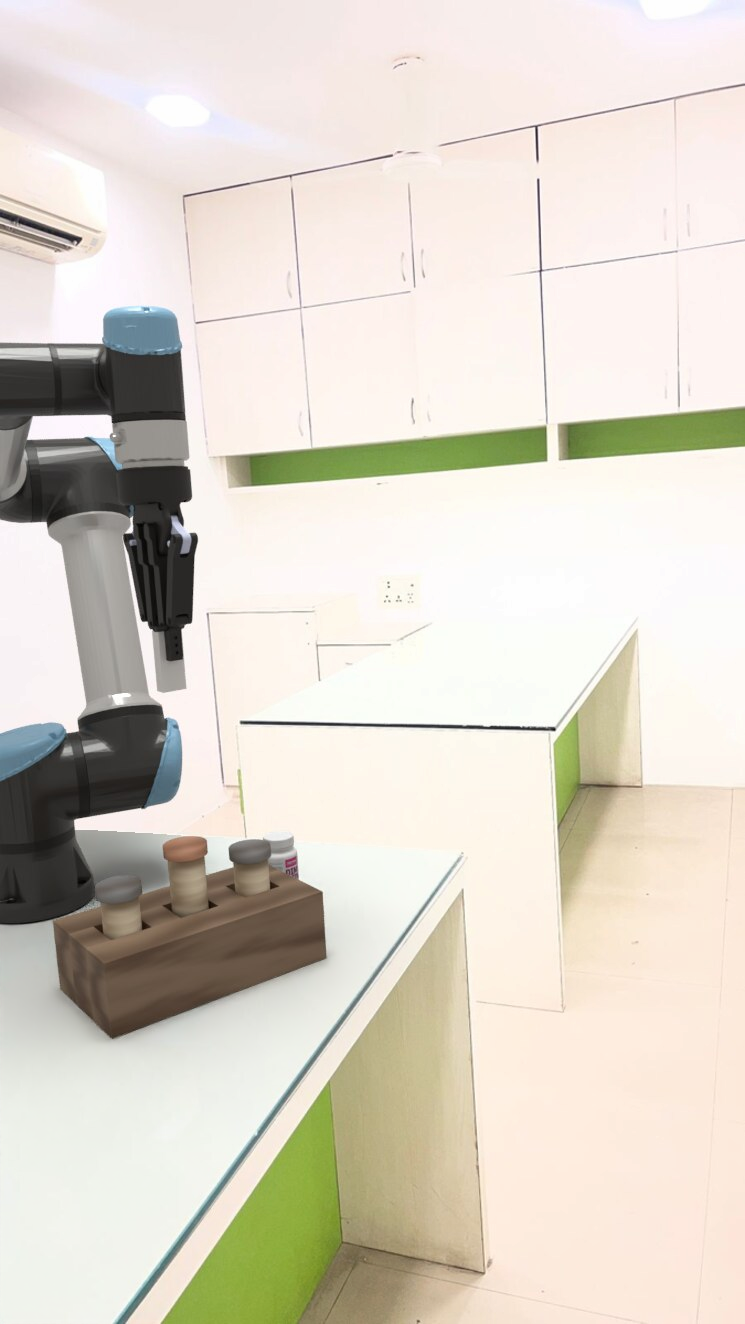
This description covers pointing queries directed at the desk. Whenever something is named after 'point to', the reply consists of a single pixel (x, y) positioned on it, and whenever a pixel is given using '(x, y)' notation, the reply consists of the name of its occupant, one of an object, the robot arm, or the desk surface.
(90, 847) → the desk surface
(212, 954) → the socket board
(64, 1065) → the desk surface
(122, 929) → the plug
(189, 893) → the plug middle
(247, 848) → the plug
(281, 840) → the pill bottle
